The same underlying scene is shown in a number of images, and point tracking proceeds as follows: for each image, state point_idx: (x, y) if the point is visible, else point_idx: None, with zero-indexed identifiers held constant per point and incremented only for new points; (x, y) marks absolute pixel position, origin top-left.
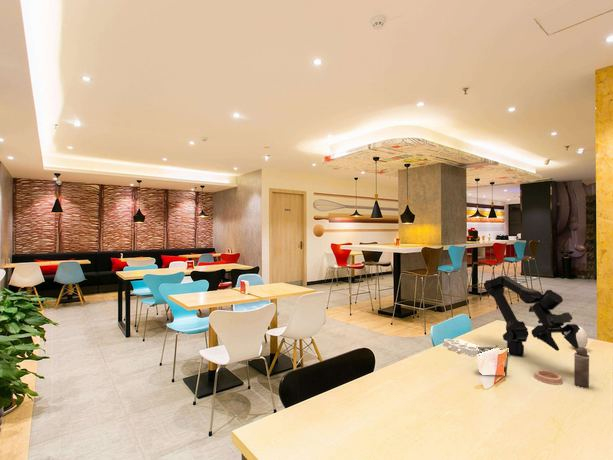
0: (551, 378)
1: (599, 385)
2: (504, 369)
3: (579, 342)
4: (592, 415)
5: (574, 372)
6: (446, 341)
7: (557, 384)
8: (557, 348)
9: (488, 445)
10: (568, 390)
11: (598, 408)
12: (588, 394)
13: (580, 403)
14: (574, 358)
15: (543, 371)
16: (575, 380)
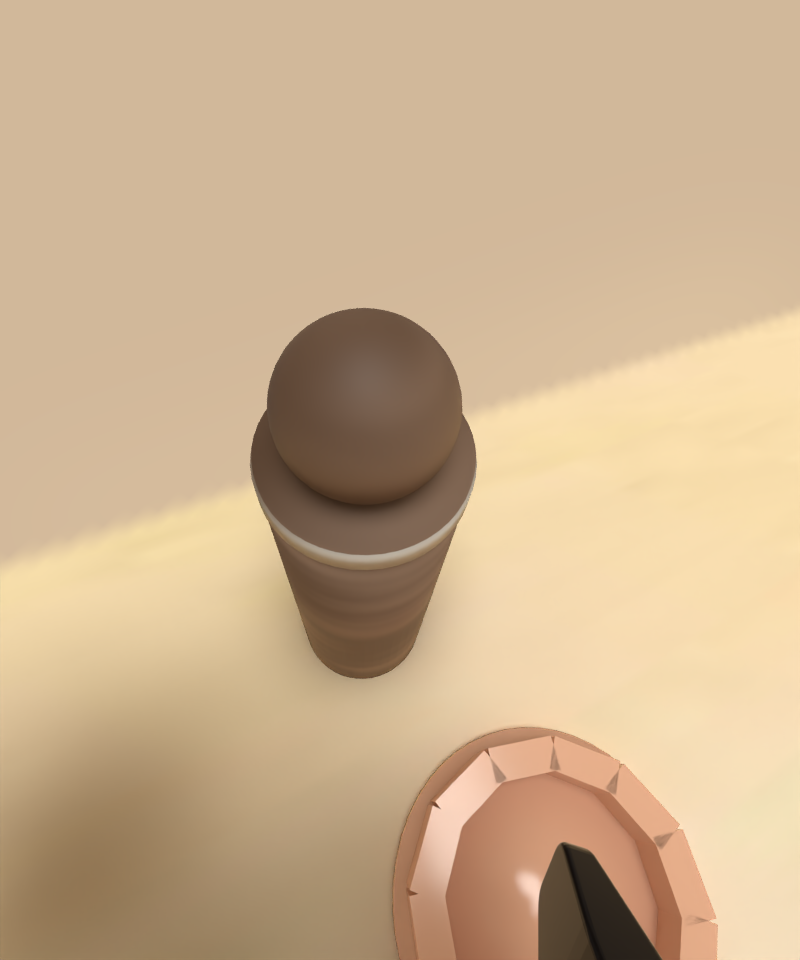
0: (627, 799)
1: (206, 550)
2: None
3: None
4: (757, 383)
5: (405, 635)
6: None
7: (578, 739)
8: (612, 886)
9: None
10: (588, 617)
11: (640, 400)
12: (496, 510)
13: (698, 471)
14: (419, 572)
15: None
16: (414, 637)
